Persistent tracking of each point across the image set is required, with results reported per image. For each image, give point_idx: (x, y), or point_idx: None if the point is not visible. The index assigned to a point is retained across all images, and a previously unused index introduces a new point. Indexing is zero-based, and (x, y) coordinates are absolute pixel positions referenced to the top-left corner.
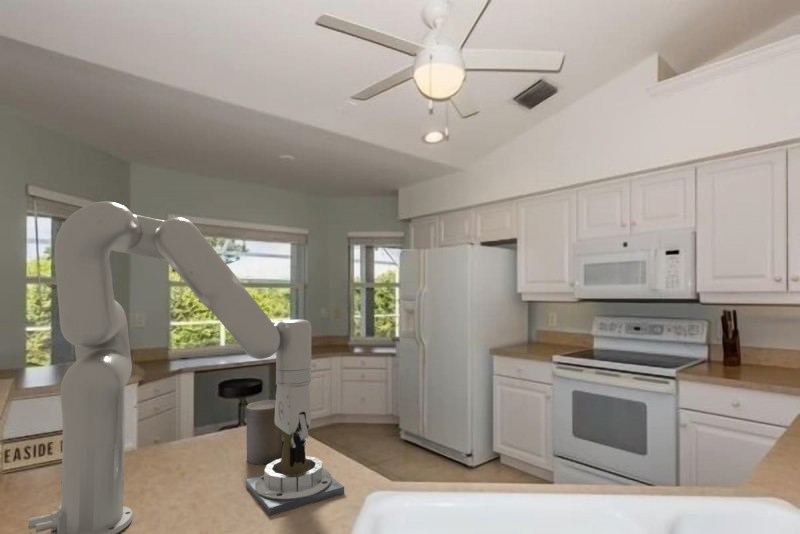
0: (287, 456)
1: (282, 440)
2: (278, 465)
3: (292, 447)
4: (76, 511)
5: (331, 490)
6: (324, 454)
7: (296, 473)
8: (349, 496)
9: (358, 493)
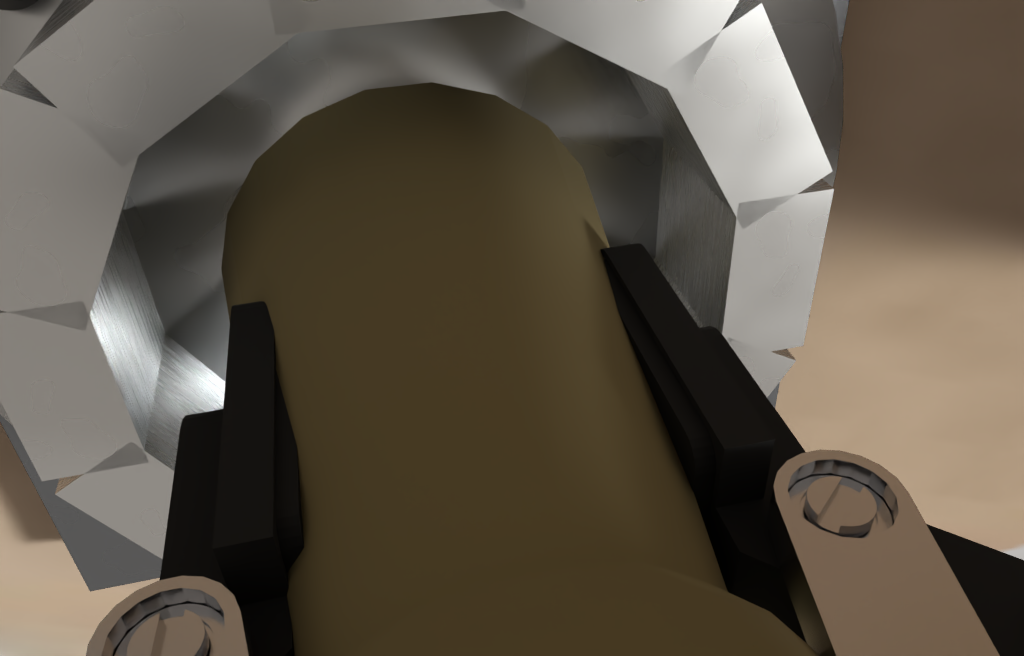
0: (319, 360)
1: (813, 451)
2: (694, 149)
3: (177, 592)
4: None
5: (40, 497)
6: (939, 523)
7: (228, 313)
8: (35, 562)
9: (73, 618)
